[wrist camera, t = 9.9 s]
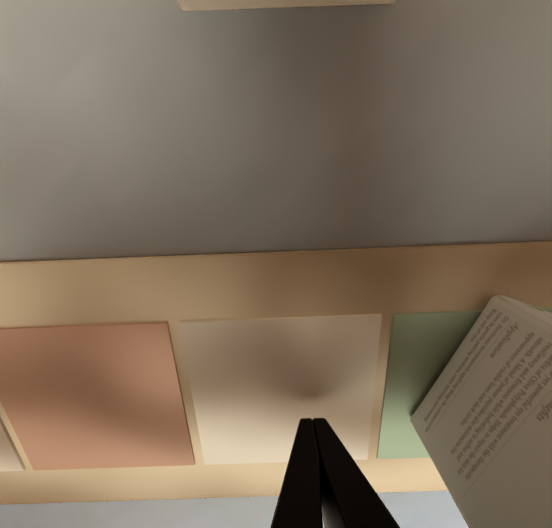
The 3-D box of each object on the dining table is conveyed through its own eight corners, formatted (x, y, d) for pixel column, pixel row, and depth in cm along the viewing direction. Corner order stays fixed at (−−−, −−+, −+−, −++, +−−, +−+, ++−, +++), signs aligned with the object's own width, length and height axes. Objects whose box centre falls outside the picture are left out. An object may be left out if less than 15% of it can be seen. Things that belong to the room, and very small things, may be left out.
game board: (537, 482, 12) (543, 489, 11) (-115, 503, 12) (-125, 511, 12) (637, 237, 8) (650, 239, 8) (-296, 274, 8) (-316, 277, 8)
